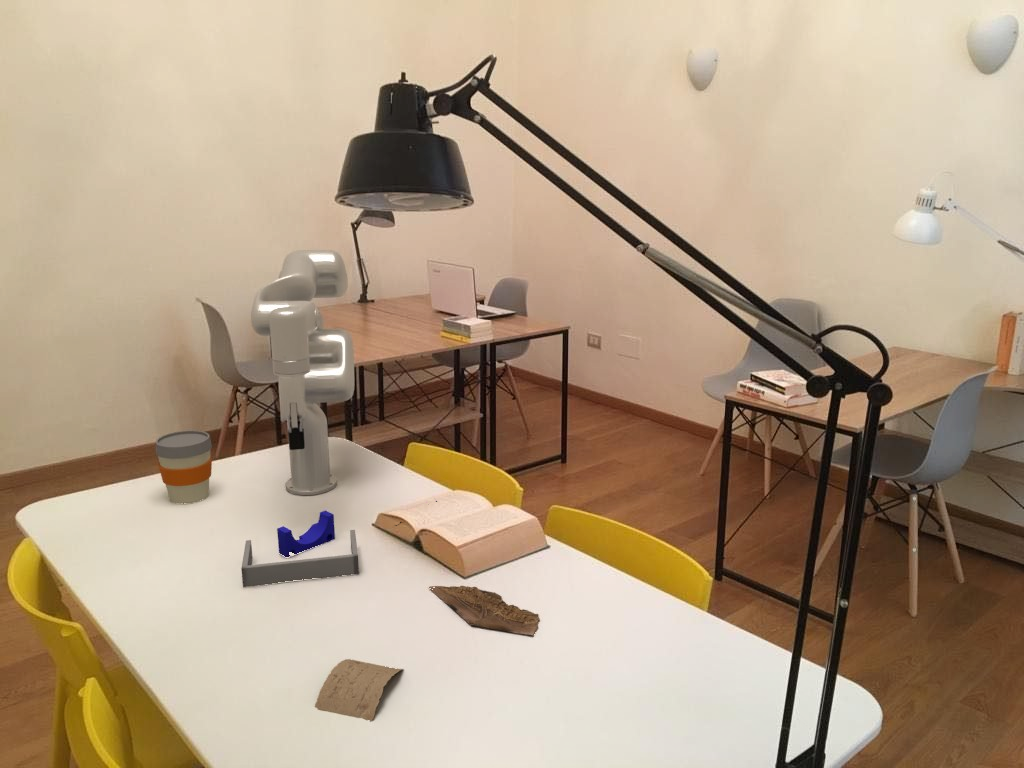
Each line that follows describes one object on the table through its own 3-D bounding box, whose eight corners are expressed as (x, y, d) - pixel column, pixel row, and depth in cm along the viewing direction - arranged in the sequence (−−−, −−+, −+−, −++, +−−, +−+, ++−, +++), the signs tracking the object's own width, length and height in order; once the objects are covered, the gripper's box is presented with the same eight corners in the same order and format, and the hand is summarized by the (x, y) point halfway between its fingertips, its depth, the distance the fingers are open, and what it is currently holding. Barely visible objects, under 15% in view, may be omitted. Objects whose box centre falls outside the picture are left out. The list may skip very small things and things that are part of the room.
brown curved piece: (372, 727, 115) (371, 711, 115) (308, 716, 118) (307, 700, 117) (407, 668, 129) (406, 654, 128) (349, 659, 131) (349, 645, 131)
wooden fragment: (555, 624, 141) (555, 619, 141) (514, 651, 133) (514, 646, 133) (454, 575, 158) (454, 571, 157) (412, 597, 150) (412, 592, 149)
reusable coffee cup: (205, 507, 187) (198, 447, 183) (152, 507, 187) (144, 447, 183) (224, 486, 199) (218, 430, 195) (174, 486, 199) (168, 429, 195)
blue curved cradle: (322, 533, 175) (321, 508, 173) (335, 539, 172) (333, 514, 170) (275, 552, 166) (273, 526, 165) (287, 559, 163) (285, 532, 162)
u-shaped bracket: (247, 558, 163) (245, 540, 162) (355, 546, 168) (354, 529, 167) (243, 587, 152) (241, 568, 151) (359, 574, 157) (358, 555, 156)
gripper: (274, 358, 173) (280, 437, 178) (271, 376, 159) (278, 461, 164) (309, 356, 175) (314, 435, 180) (309, 374, 161) (315, 458, 166)
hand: (297, 447), depth 172 cm, fingers closed
